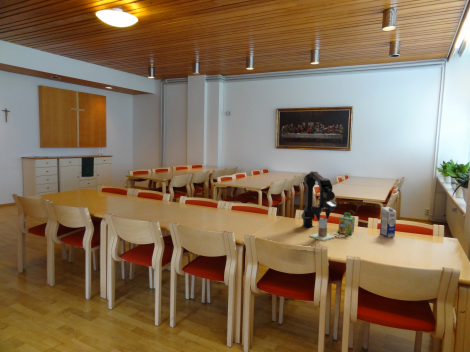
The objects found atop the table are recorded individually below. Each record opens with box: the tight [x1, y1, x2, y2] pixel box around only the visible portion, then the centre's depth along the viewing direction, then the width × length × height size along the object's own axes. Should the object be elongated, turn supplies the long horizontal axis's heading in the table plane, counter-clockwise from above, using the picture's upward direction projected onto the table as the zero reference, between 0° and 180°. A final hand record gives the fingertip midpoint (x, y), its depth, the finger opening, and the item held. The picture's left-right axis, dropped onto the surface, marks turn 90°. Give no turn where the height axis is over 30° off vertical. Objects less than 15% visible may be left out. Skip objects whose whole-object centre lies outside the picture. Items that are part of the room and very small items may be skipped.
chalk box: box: [337, 212, 356, 236], centre depth 238 cm, size 9×9×15 cm
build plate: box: [309, 232, 336, 242], centre depth 228 cm, size 12×12×1 cm
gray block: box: [318, 217, 328, 229], centre depth 226 cm, size 4×4×6 cm
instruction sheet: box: [333, 233, 346, 239], centre depth 232 cm, size 10×7×1 cm
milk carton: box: [379, 206, 397, 238], centre depth 231 cm, size 7×7×20 cm
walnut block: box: [317, 227, 328, 237], centre depth 227 cm, size 4×4×6 cm
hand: (323, 219), depth 226 cm, fingers open, 9 cm apart
